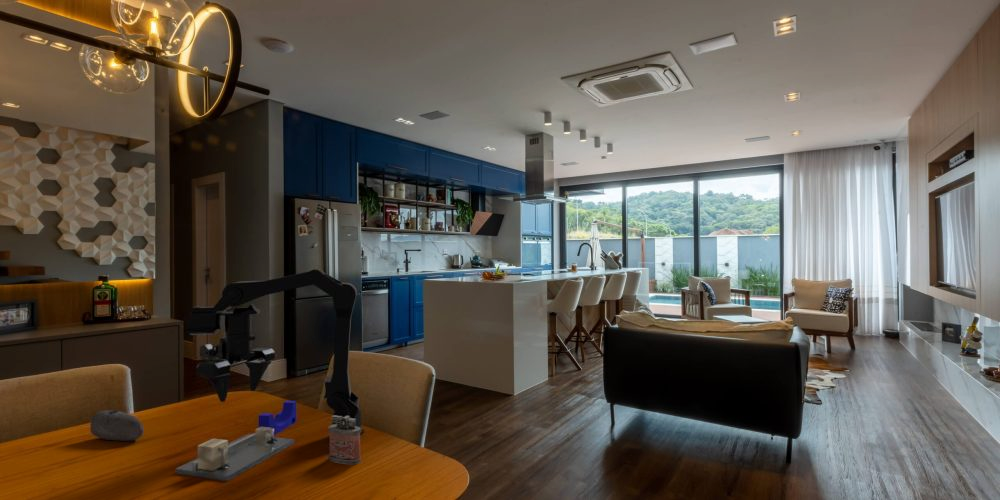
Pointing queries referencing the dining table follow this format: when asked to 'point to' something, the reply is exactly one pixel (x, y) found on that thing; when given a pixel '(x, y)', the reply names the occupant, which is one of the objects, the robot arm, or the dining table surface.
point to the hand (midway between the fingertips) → (238, 395)
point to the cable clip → (280, 417)
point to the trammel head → (212, 454)
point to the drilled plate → (241, 455)
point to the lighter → (344, 440)
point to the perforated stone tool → (116, 426)
